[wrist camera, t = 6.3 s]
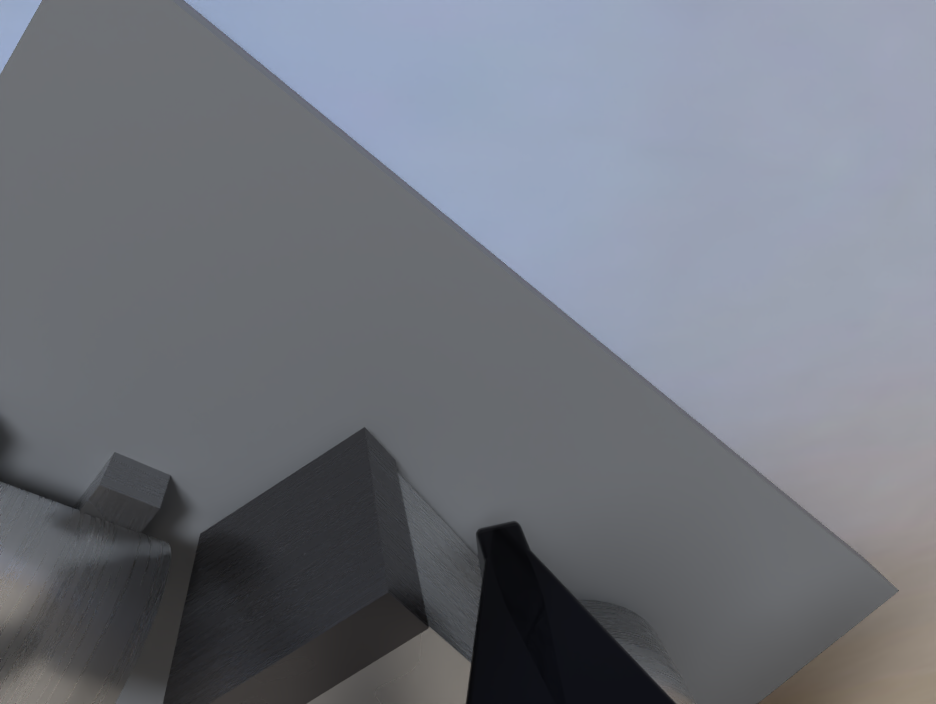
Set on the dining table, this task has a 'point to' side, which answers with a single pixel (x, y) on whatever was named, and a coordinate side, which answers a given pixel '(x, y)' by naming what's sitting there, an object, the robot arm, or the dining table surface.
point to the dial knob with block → (347, 597)
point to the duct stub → (79, 586)
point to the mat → (348, 353)
